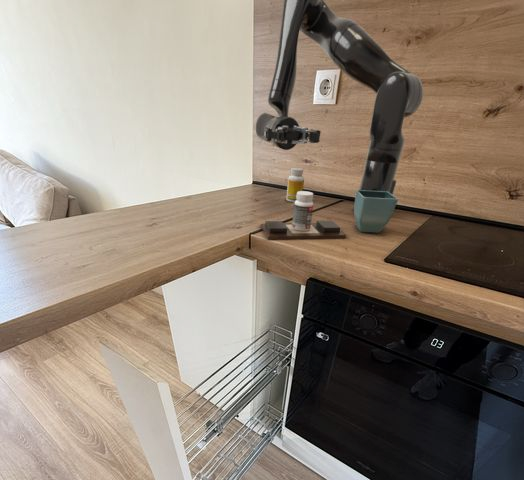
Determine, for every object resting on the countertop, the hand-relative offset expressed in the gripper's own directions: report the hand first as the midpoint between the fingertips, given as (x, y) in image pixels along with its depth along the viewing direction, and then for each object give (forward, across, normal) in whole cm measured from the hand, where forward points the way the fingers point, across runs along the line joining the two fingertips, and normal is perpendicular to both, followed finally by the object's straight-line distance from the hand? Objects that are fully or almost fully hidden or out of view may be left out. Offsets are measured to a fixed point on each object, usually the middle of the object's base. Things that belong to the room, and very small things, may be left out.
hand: (299, 137), depth 75 cm
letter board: (+11, 0, +20) cm, 22 cm away
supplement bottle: (-22, +7, +20) cm, 30 cm away
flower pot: (+10, +19, +20) cm, 29 cm away
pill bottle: (+11, 0, +19) cm, 22 cm away
